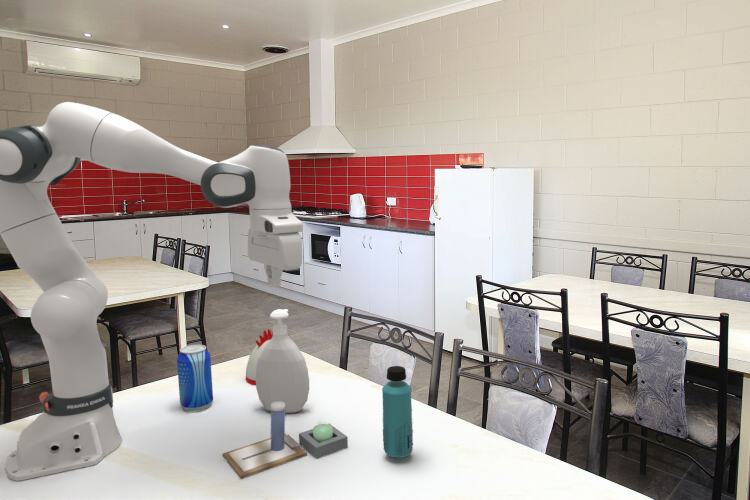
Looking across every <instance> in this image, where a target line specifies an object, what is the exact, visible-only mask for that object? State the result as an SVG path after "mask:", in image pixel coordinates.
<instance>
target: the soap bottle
mask: <svg viewBox="0 0 750 500" xmlns="http://www.w3.org/2000/svg"><path fill="white" fill-rule="evenodd" d="M289 316H290V315H289V309H287V308H286V309H285V308H284V309H282V308H281V309H280V308H278V309H274V310H273V311H272V312H271V313H270V315H269V319H273V320H276V323H275V324H273V326H272V331H273V336H272V339H271V340H270V341H269V342H268V343H267V344H266V346H265V347H264V349H263V350H262V352H261V354H260V355H259V357H258V361H257V366H256V386H255V389H256V392H257V395H258V396H257V397H258V400H259V402H260V403H261V405H262V406H263V408H264V409H266V410H267V411H268V412H271V403H273V402H277V401H281V402H284V403H285V414H293V413H295V414H296V413H298V412H300V411H301V410H302V409H303V408H304V406H305V405H306V403H307V402H308V397H309V393H310V376H309V371H308V370H309V369H308V366H307V362H306V359H305V356H304V355H303V354H302V352H301V350H300V348H299V347H298V345H297V344H296V342H294V341H293V340H292V339H291V338H290V336H289V335H288V325H286V323H283V319H287V318H289Z"/></svg>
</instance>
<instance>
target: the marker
mask: <svg viewBox="0 0 750 500" xmlns="http://www.w3.org/2000/svg"><path fill="white" fill-rule="evenodd" d="M285 416H286V413H285V403H284V402H281V401H277V402H273V403H271V411H270V438H271V449H272V450H274V451H279V450H282V449H284V437H285V434H286V433H285V431H286V430H285V427H286V426H285V425H286V422H285V421H286V419H285V418H286V417H285Z"/></svg>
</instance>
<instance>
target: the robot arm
mask: <svg viewBox="0 0 750 500" xmlns="http://www.w3.org/2000/svg"><path fill="white" fill-rule="evenodd" d="M81 159H82V160H85V161H88V162H89V163H91V164H92V163H93V164H95V165H98V166H101V167H104V168H107V169H111V170H114V171H119V172H123V173H124V172H125V173H132V174H133V173H134V174H137V173H138V174H160V175H168V176H172V177H176V178H179V179H182V180H184V181H187V182H189V183H193V184H196V185H199V186H200V190H201V192H202V195H203V197H204V198H205V199H206V200H207V201H208V202H209V203H210V204H212V205H214V206H217V207H218V208H223V209H226V208H227V209H229V208H234V207H244V206H246V205H248V206H249V223H250V224H249V227H250V228H249V229H248V232H247V256H248V258H249V260H250V261H253V262H257V263H260V264H263V268H264V272H265V274H266V275H265V276H266V279H267V284H268V285H270V286H273V287H280V286H281V283H282V282H281V278H282V274H283V271H293V270H294V271H296V270H299V269H300V268H301V266H302V263H303V241H302V235H301V232H303V227H304V226H303V222H302V221H301V220H300V219H299V218H297V216H295V214H294V213H292V203H291V201H290V200H291V199H290V191H291V173H290V164H289V159H288V157H287V155H286V153H285V151H283V150H282V149H280V148H279V147H275V146H270V145H266V144H251V145H249V147H248V148H246V149H245V150H243V151H241V152H240V153H238V154H236V155H235V156H232V157H230V158H227V159H224V160H222V161H221V160H220V161H217V160H212V159H210V158H208V157H205V156H201V155H199V154H196V153H194V152H191V151H188V150H185V149H182V148H181V147H178V146H176V145H175V144H172V143H171V142H169V141H167V140H165V139H164V138H163V137H160V136H159V135H157V134H155V133H153V132H152V131H151V130H148V129H146V128H145V127H144V126H142V125H140V124H138V123H136V122H134V121H132V120H130V119H128V118H126V117H124V116H121V115H119V114H116V113H115V112H111V111H108V110H106V109H102V108H99V107H95V106H92V105H88V104H84V103H77V102H72V101H64V102H61V103H58V104H57V105H56V106H54V107H53V108H52V109H51V110H50V112H49V114H48V116H47V118H46V122H45V123H44V124H43V125H40V126H35V125H34V124H26V125H25V124H24V125H20V126H12V127H7V128H3V129H1V130H0V238H2V240H3V242H4V243H5V246H6V247H7V249H8V251H9V253H10V254H11V256H12V258H13V260H14V261H15V263H16V265H17V267H18V269H20V270H21V271H22V272H25V274H27V275H28V276H29V277H30V278H31V279H32V280H33V281H34V282H35V283H36V284H37V285H38V287H40V289H41V290H42V291H43V292H42V293H41V294H40V295H39V296H38V298H37V299H36V301H35V303H34V305H33V307H32V308H31V312H30V321H31V322H30V323H31V324H32V327H33V329H34V330H35V331H36V332H37V333H38V334H39V335H40V338H41V341H42V344H43V347H44V350H45V352H46V355H47V358H48V359H47V360H48V363H49V370H50V371H49V372H50V380H51V387H52V392H51V393H49V391H43V392H41V393H40V395H39V397H38V398H39V402H40V403H42V408H43V412H42V413H41V414H39V415H38V416H37V417H36V418H35V419H34V420H33V421H32V422H30V423H29V424H28V425H27V426H26V427H24V428H23V429H22V431H21V433H20V434H19V436H18V440H17V445H16V449H15V450H13V451H12V452H11V453H10V454H9V455H8V456H7V458H6V461H5V473H6V476H7V477H8V478H9V479H10V480H14V481H17V482H18V481H24V480H25V481H26V480H29V479H33V478H38V477H39V478H40V477H43V476H47V475H54V474H57V473H62V472H67V471H70V470H76V469H80V468H81V469H82V468H85V467H90V466H95V465H97V464H99V463H100V462H101V461H102V459H104V458H105V456H107V455H108V454H110V453H112V452H114V451H115V450H116V449H117V448H118V447H119V446H120V445H121V443H122V442H123V437H122V434H120V431H119V428H118V426H117V423H116V417H115V414H114V409H113V407H114V395H113V394H114V393H113V387H112V384H111V382H110V381H109V373H108V360H107V352H106V351H107V350H106V348H105V347H104V346H103V343H102V341H101V338H100V334H99V330H98V325H97V320H98V317H99V315H101V314H102V313H103V311H104V310H105V308H106V306H107V302H108V292H109V291H108V289H107V286H106V284H105V283H104V282H103V281H102V280H101V279H100V278H99V277H98V276H97V275H96V273H95V272H94V271H93V269H92V268H91V267H90V265H89V264H88V262H86V260H85V259H84V258H83V257H82V255H81V254H80V252H79V251H78V250H77V248H76V246H75V245H74V243H73V241H72V240H71V238H70V236H69V234H68V232H67V231H66V229H65V226H64V224H63V223H62V221H61V219H60V217H59V216H58V214H57V212H56V210H55V209H54V206H53V205H52V203H51V201H50V198H49V196H48V188H49V186H56V185H57V184H59V183H60V182H61V181H62V180H63V179H64V178H66V177H67V176H68V175H69V174H70V173H72V172H73V171H74V170H75V169H77V167H78V165H79V164H80V162H81Z"/></svg>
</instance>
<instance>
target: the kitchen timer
mask: <svg viewBox="0 0 750 500" xmlns="http://www.w3.org/2000/svg"><path fill="white" fill-rule="evenodd" d="M272 336H273V330H272V331H271V329H269V328H268V329H267V331H266V330H264V329H263V335H261V334H259V335H258V337H259V340H260V341H259V340H257V339H255V343H256V346H255V347H254V348H253V350H252V351H251V353H250V354H249V356H248V360H247V364H246V369H245V381H246V383H247V384H249V385H252V386H255V387H256V366H257V361H258V357H259V355H260V354H261V352H262V350H263V349H264V347H265V346H266V344H267V343H268V342H269V341H270V340H271V339H272Z"/></svg>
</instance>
